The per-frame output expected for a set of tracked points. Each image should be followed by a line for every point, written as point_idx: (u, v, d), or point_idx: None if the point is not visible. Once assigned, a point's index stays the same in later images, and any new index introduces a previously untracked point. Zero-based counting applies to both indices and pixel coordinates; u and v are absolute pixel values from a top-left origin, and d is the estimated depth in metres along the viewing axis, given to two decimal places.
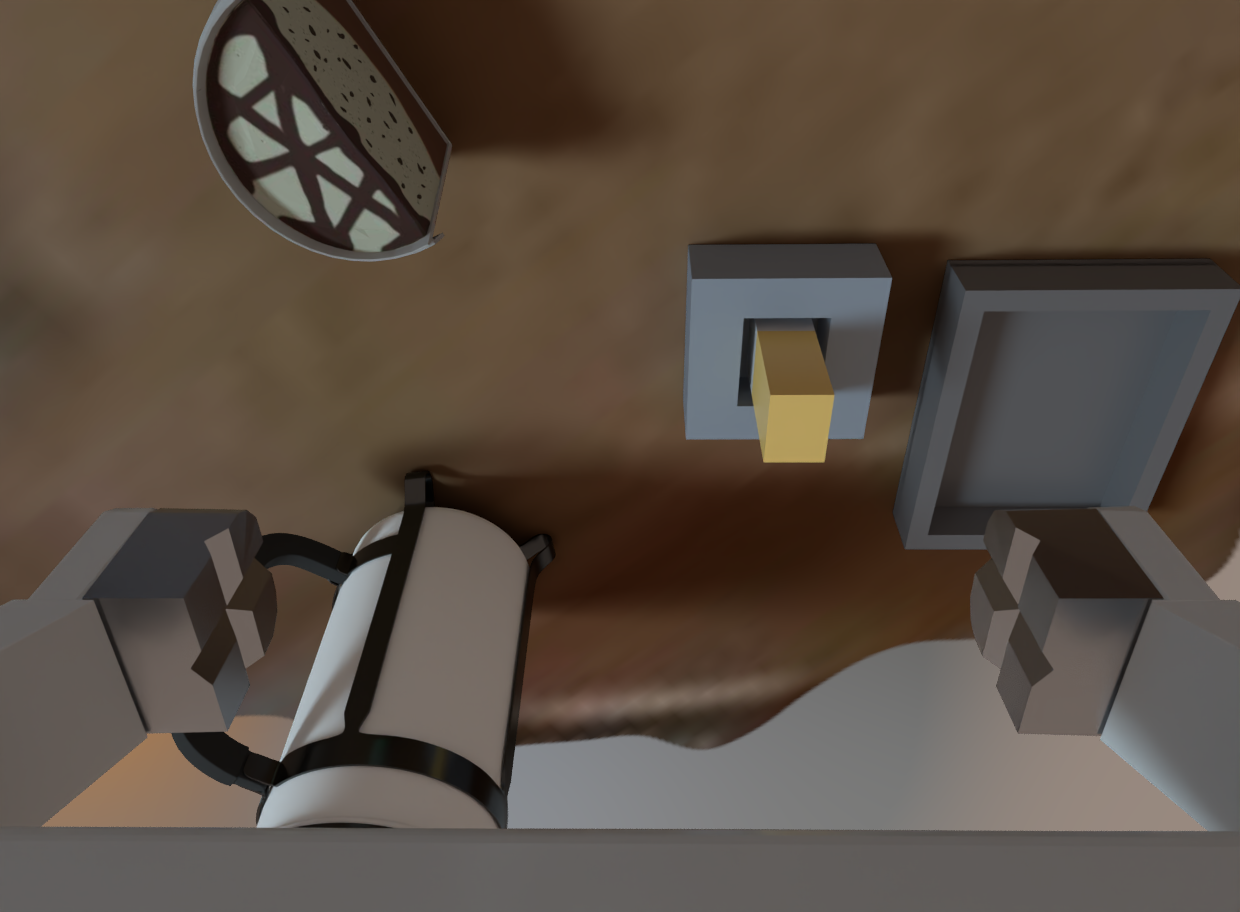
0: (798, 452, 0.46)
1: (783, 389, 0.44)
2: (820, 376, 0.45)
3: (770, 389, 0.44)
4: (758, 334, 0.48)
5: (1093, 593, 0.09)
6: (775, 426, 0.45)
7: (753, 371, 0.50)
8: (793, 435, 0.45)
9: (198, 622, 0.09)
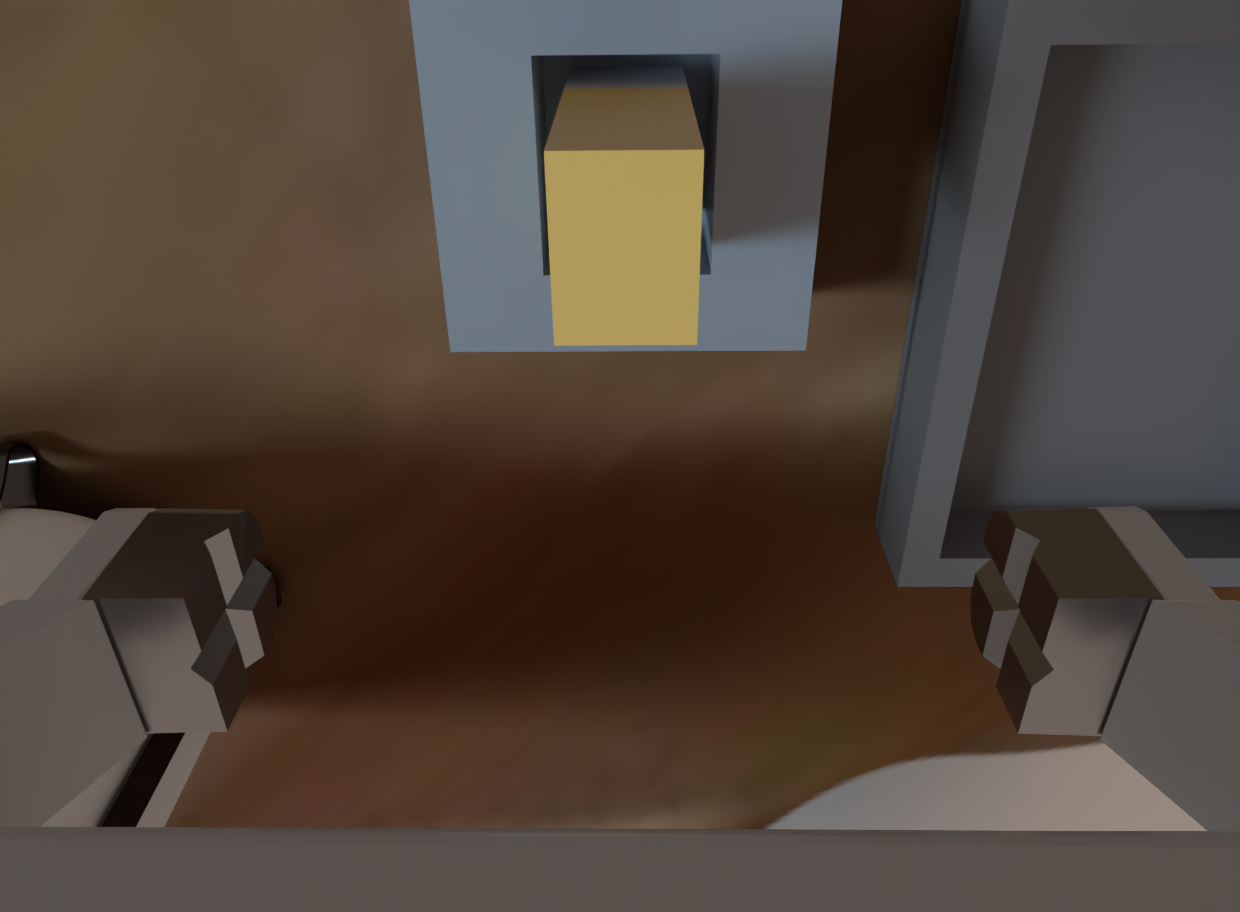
0: (633, 318, 0.19)
1: (580, 144, 0.18)
2: (678, 129, 0.19)
3: (547, 144, 0.18)
4: None
5: (1094, 593, 0.09)
6: (568, 244, 0.18)
7: None
8: (614, 270, 0.19)
9: (198, 622, 0.09)
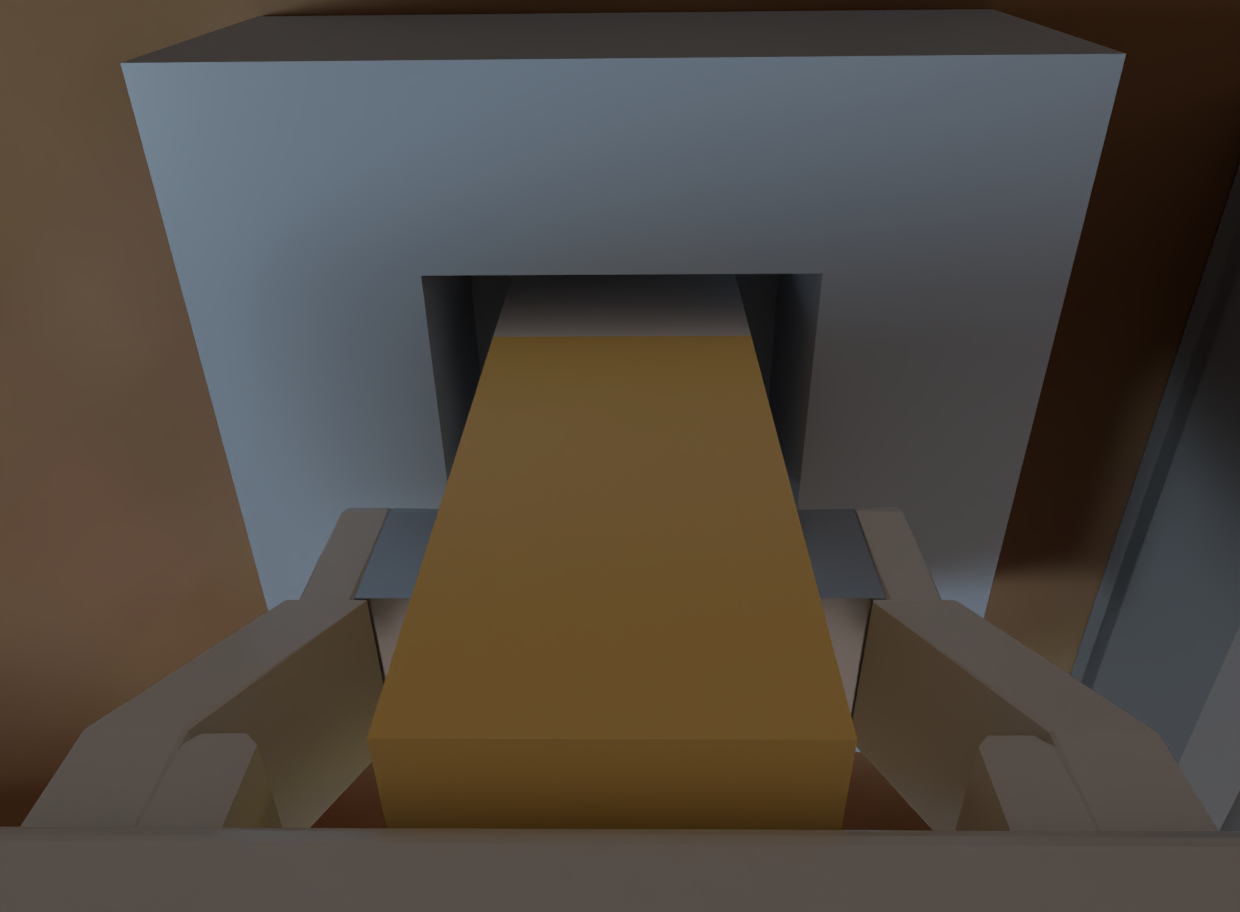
0: None
1: (484, 681, 0.06)
2: (759, 571, 0.07)
3: (390, 680, 0.06)
4: (493, 350, 0.11)
5: (820, 593, 0.09)
6: None
7: None
8: None
9: None
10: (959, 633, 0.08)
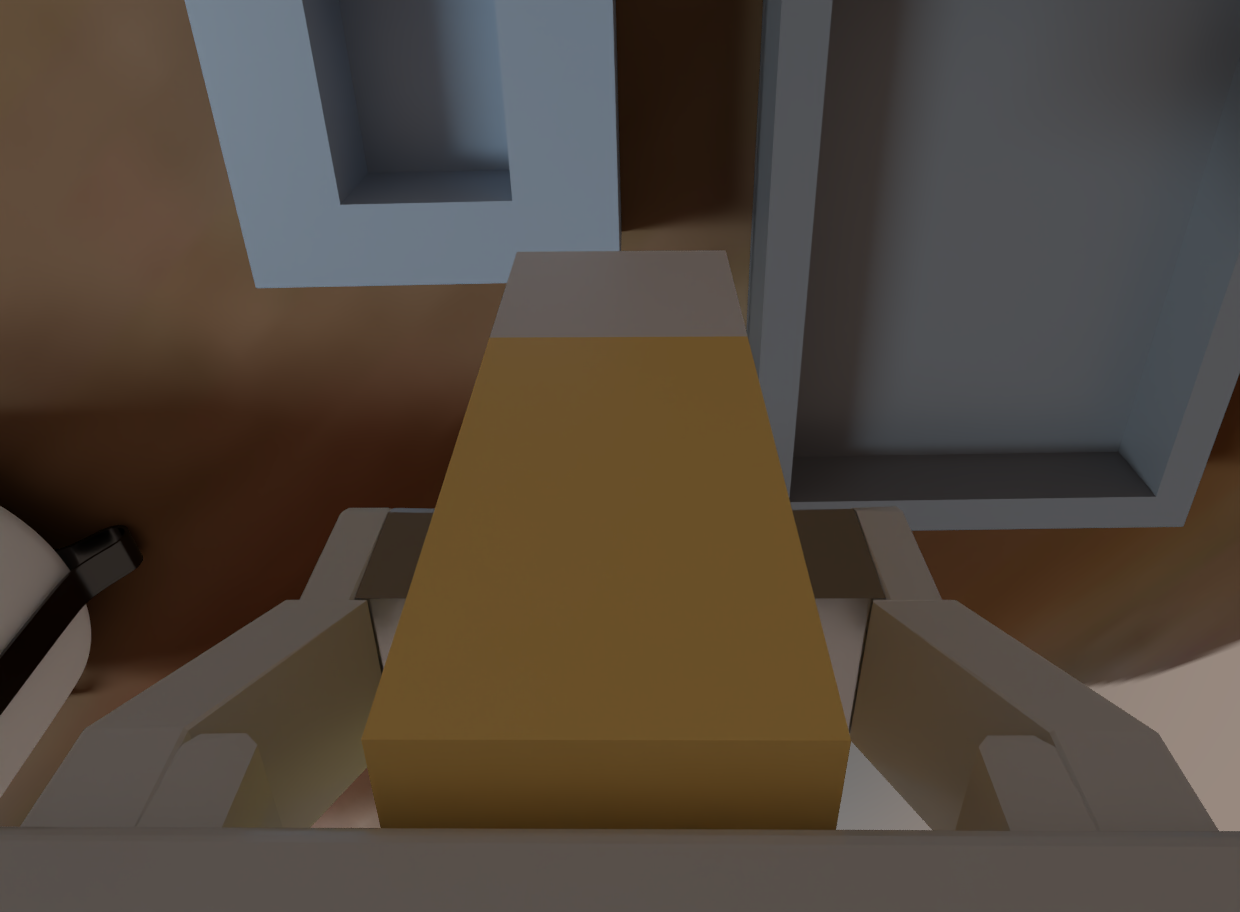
0: None
1: (480, 682, 0.06)
2: (754, 571, 0.07)
3: (384, 682, 0.06)
4: (489, 351, 0.11)
5: (820, 593, 0.09)
6: None
7: None
8: None
9: None
10: (960, 635, 0.08)
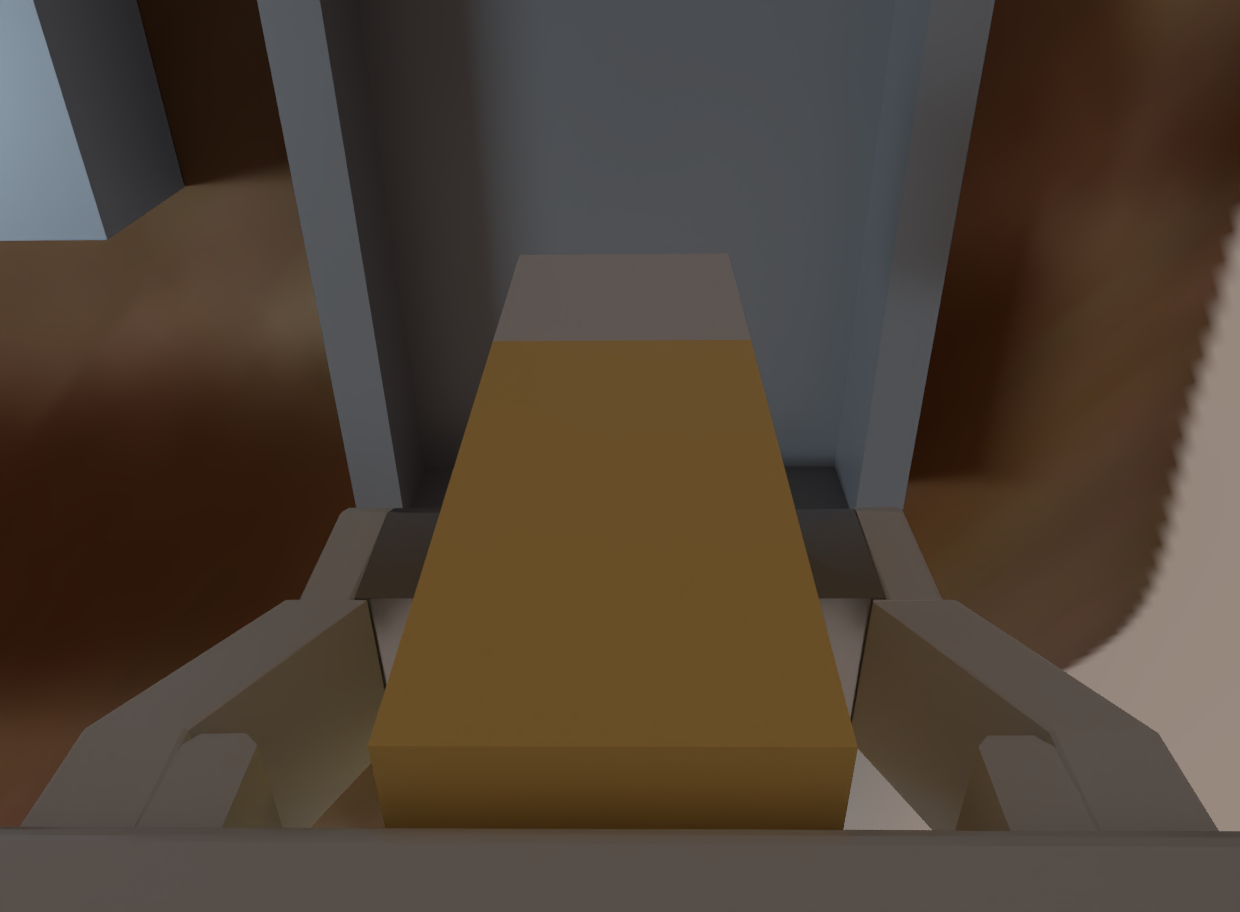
0: None
1: (486, 688, 0.06)
2: (759, 576, 0.07)
3: (390, 689, 0.06)
4: (493, 354, 0.11)
5: (820, 593, 0.09)
6: None
7: None
8: None
9: None
10: (959, 635, 0.08)
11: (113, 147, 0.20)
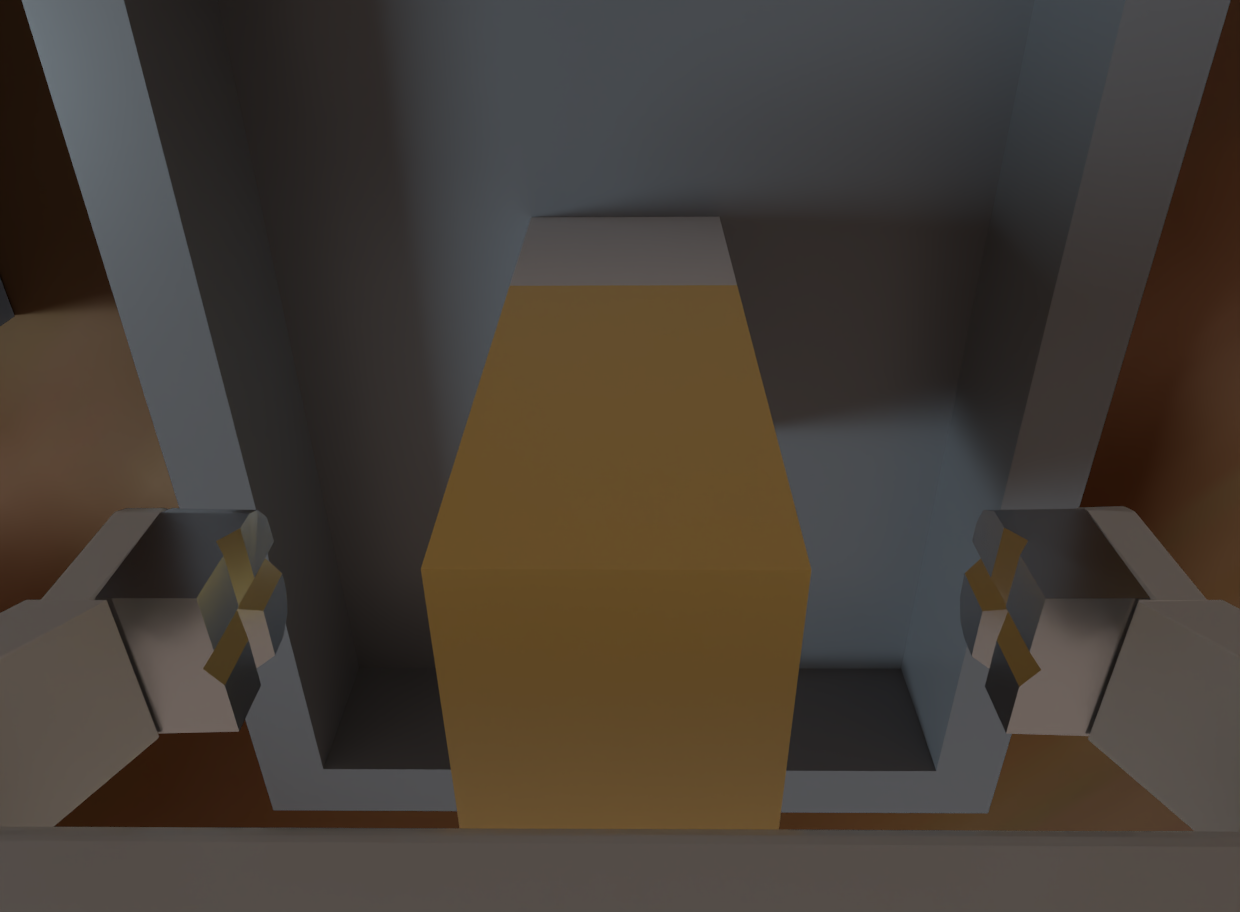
0: None
1: (513, 532, 0.08)
2: (737, 457, 0.09)
3: (436, 532, 0.08)
4: (510, 296, 0.12)
5: (1080, 593, 0.09)
6: (491, 733, 0.08)
7: None
8: (595, 776, 0.08)
9: (211, 622, 0.09)
10: None
11: None
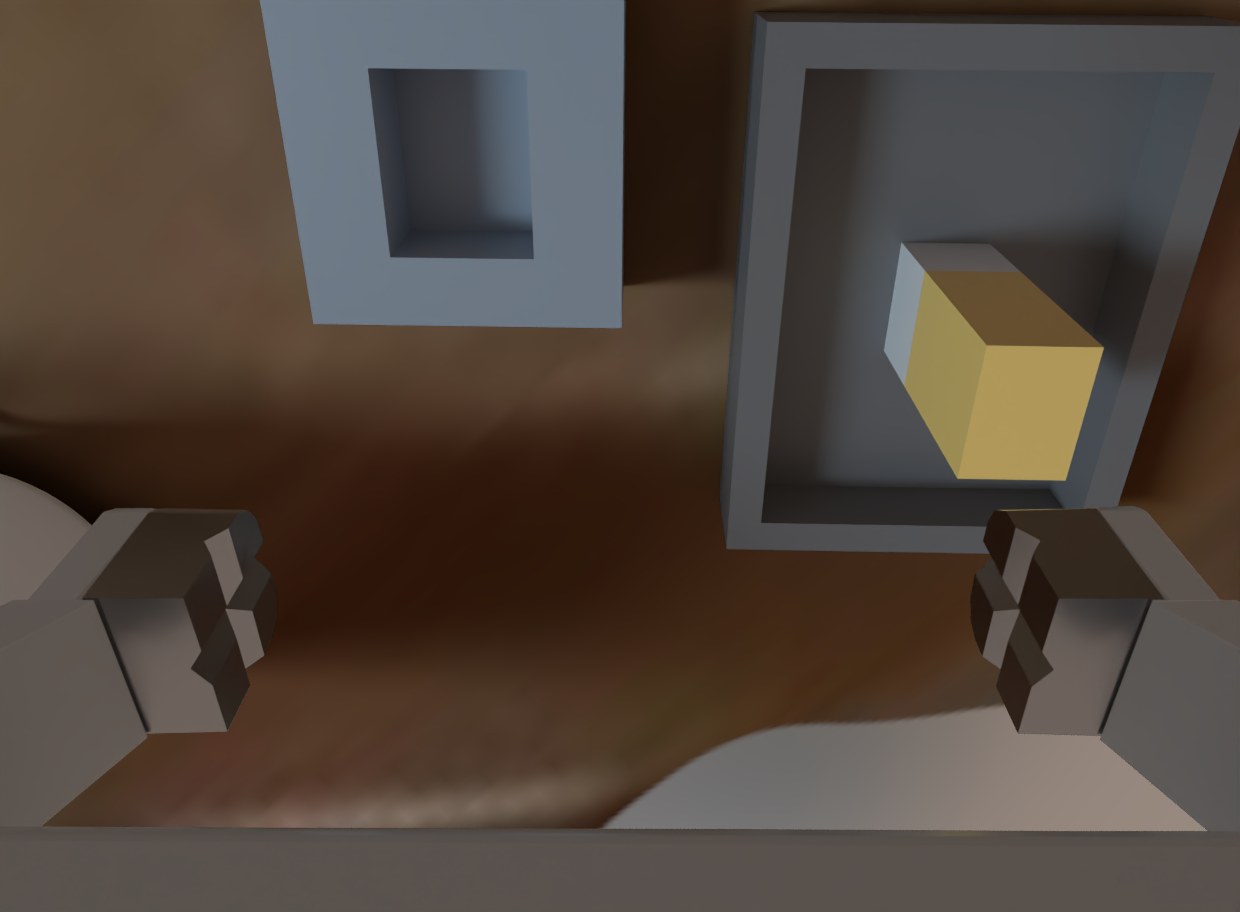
0: (1022, 461, 0.26)
1: (1005, 338, 0.24)
2: (1062, 323, 0.25)
3: (982, 338, 0.24)
4: (928, 274, 0.29)
5: (1093, 593, 0.09)
6: (987, 408, 0.25)
7: (910, 344, 0.31)
8: (1017, 427, 0.25)
9: (198, 622, 0.09)
10: None
11: (622, 267, 0.30)
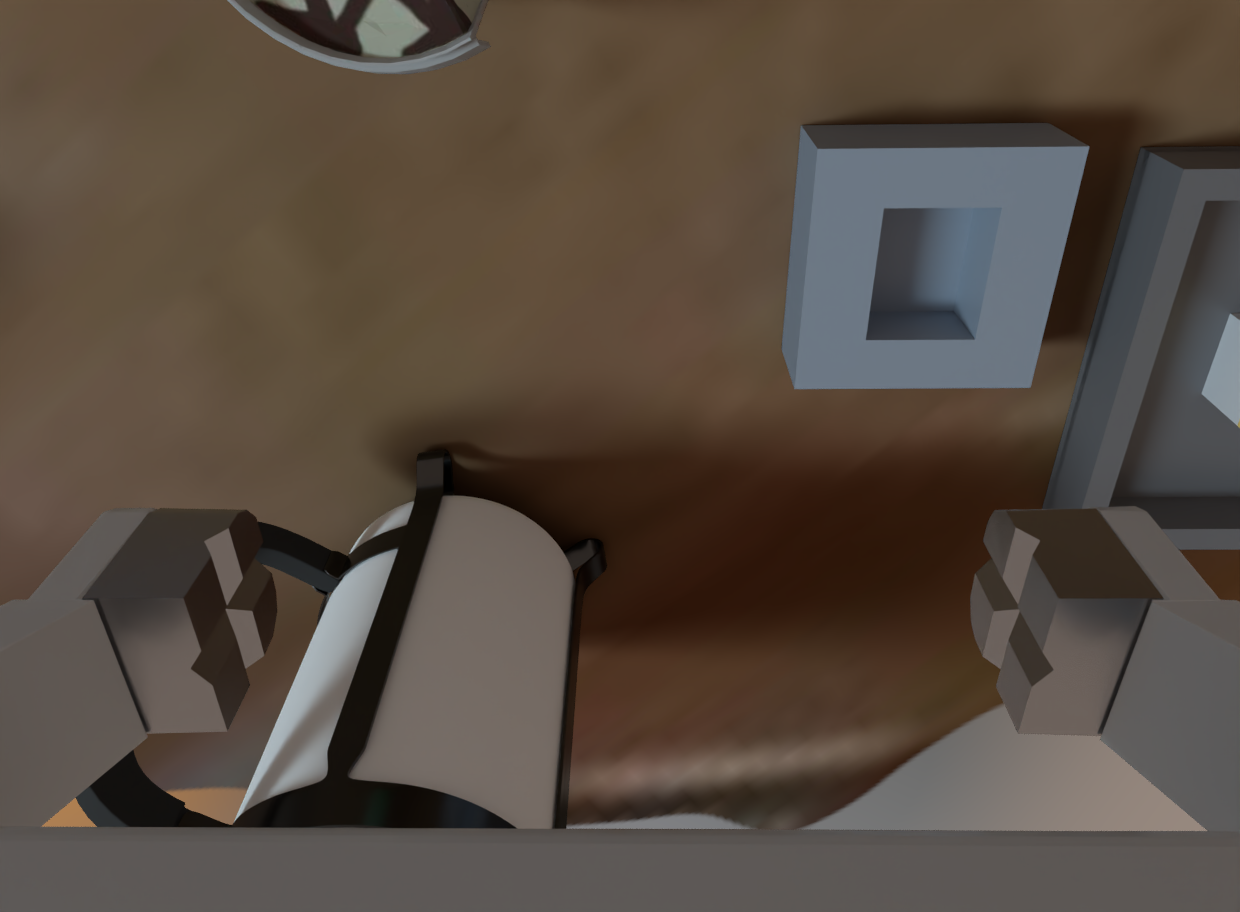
0: None
1: None
2: None
3: None
4: None
5: (1093, 593, 0.09)
6: None
7: None
8: None
9: (198, 622, 0.09)
10: None
11: None
